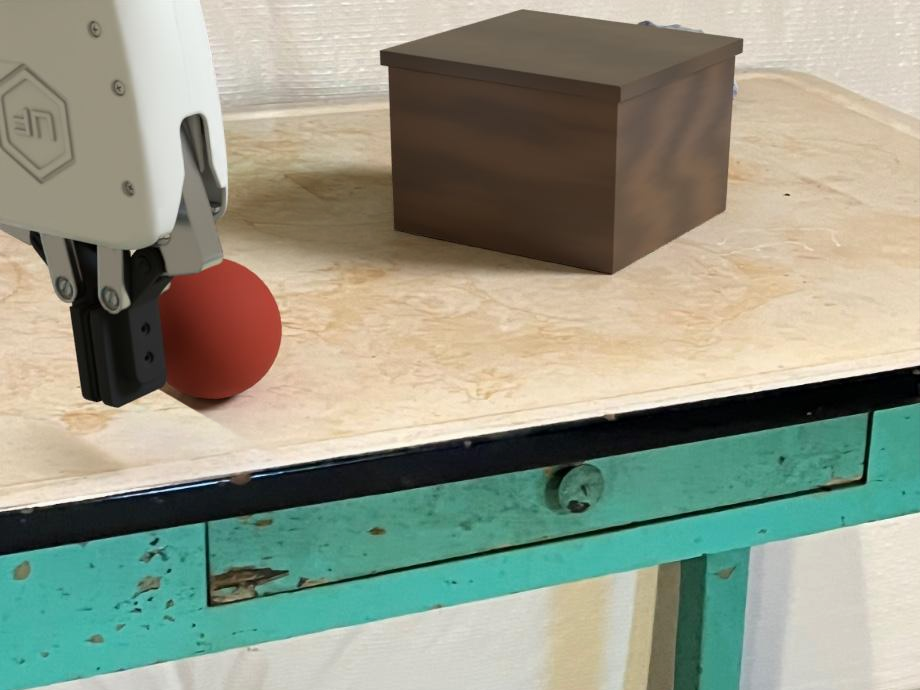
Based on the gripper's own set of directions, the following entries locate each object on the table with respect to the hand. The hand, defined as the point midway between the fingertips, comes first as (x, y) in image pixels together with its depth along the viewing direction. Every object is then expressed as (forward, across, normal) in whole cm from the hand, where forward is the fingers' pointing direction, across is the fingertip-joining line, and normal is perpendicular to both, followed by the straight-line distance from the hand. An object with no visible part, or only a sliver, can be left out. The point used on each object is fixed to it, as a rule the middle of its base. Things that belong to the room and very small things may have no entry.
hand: (125, 392), depth 69 cm
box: (+2, -1, +36) cm, 36 cm away
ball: (-1, 0, +6) cm, 6 cm away
